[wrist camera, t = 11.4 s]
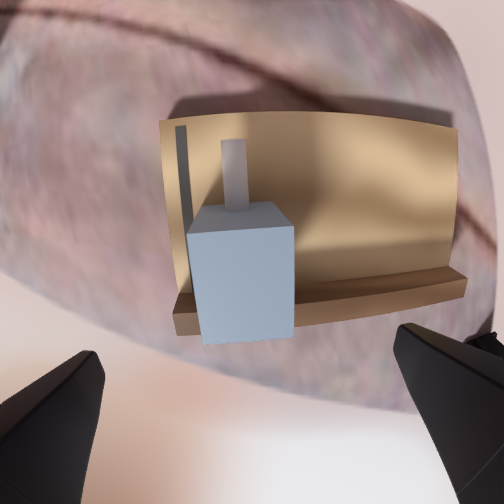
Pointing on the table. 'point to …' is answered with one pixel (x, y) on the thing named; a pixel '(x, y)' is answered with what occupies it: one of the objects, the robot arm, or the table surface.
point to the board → (327, 205)
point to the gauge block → (242, 261)
